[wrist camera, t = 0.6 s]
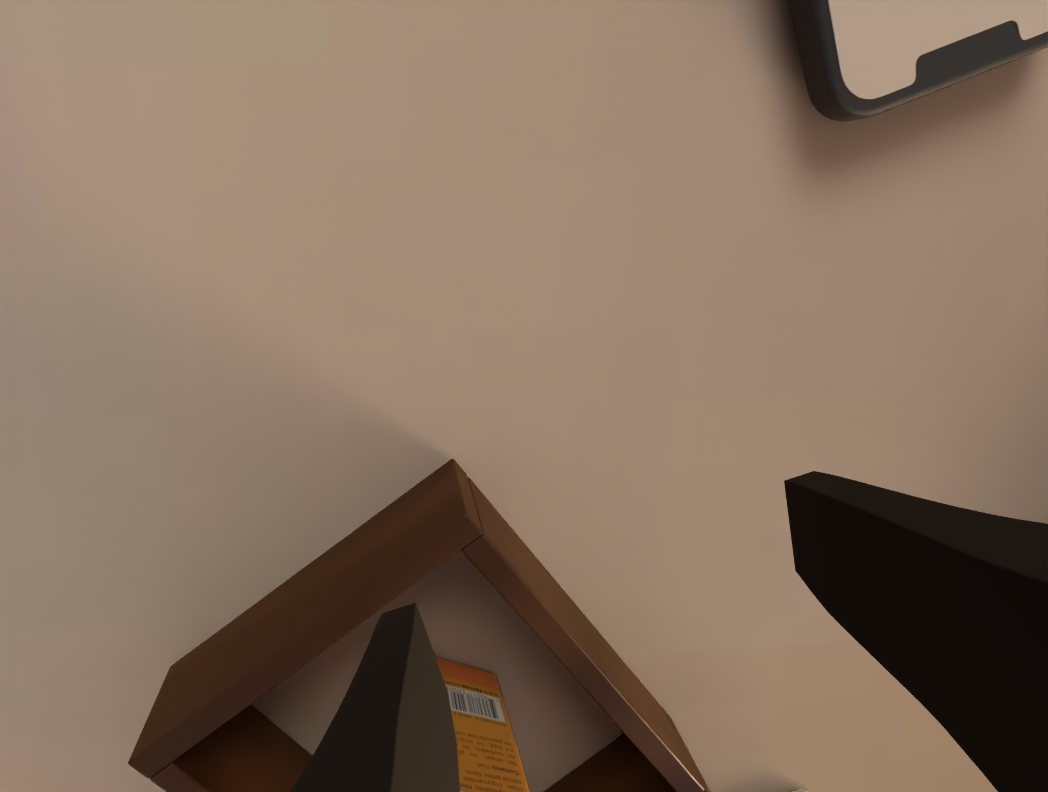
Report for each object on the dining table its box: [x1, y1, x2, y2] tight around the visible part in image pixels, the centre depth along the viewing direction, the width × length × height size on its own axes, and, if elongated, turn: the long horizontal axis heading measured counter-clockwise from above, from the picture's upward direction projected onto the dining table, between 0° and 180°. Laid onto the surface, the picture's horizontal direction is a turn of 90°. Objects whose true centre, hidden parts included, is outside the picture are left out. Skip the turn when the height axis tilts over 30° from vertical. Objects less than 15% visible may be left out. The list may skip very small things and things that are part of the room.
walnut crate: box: [128, 459, 710, 792], centre depth 23 cm, size 15×12×4 cm
